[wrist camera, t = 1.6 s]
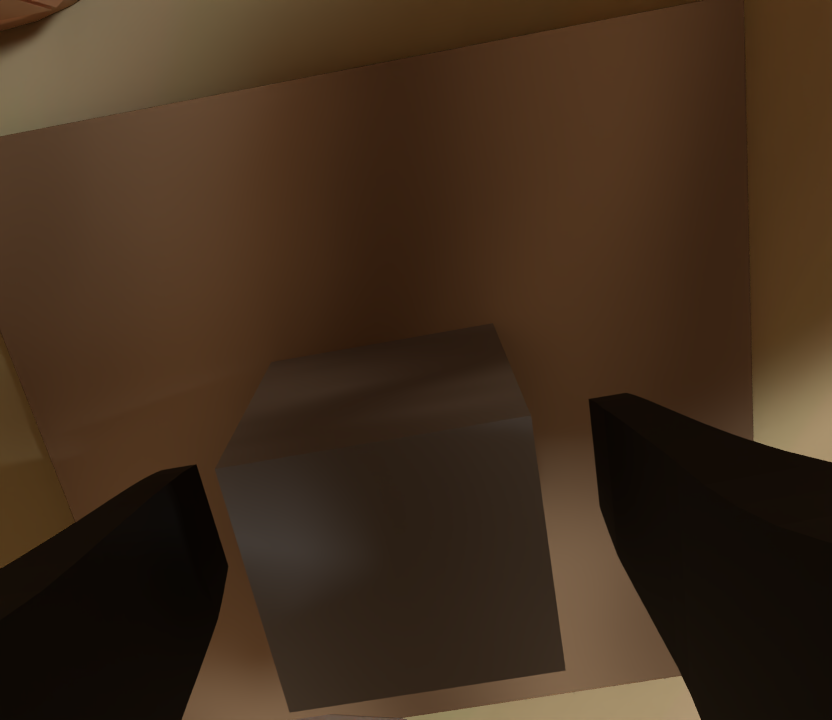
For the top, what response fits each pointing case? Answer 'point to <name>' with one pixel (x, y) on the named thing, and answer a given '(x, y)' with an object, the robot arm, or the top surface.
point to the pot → (28, 11)
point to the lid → (396, 345)
